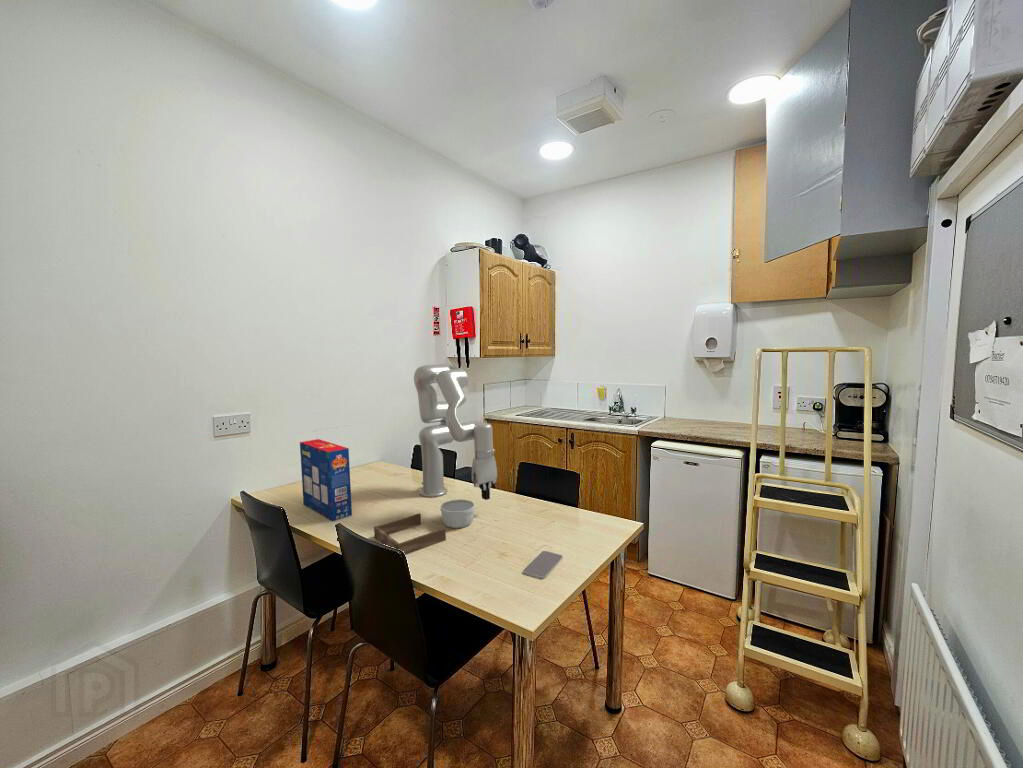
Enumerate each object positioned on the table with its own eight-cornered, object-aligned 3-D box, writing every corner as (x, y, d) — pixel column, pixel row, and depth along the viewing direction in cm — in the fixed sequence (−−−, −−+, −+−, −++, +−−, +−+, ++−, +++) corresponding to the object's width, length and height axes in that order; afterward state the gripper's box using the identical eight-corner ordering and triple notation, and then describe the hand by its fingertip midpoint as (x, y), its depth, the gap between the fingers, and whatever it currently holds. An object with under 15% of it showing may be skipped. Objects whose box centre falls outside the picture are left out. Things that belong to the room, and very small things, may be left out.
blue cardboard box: (351, 515, 169) (348, 448, 166) (332, 521, 163) (328, 452, 160) (321, 499, 187) (318, 439, 185) (303, 504, 181) (299, 442, 179)
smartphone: (564, 555, 132) (544, 577, 119) (564, 558, 132) (544, 580, 119) (543, 550, 136) (521, 571, 123) (543, 552, 136) (521, 574, 123)
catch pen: (374, 537, 148) (374, 526, 148) (419, 523, 160) (419, 513, 159) (398, 557, 134) (397, 545, 133) (445, 539, 145) (445, 529, 145)
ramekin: (459, 513, 169) (458, 496, 169) (482, 521, 161) (482, 503, 160) (433, 524, 159) (433, 506, 158) (457, 533, 151) (456, 514, 150)
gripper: (492, 449, 174) (494, 492, 175) (463, 456, 164) (465, 501, 165) (504, 452, 168) (505, 496, 169) (474, 459, 159) (476, 505, 160)
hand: (485, 498), depth 167 cm, fingers closed
